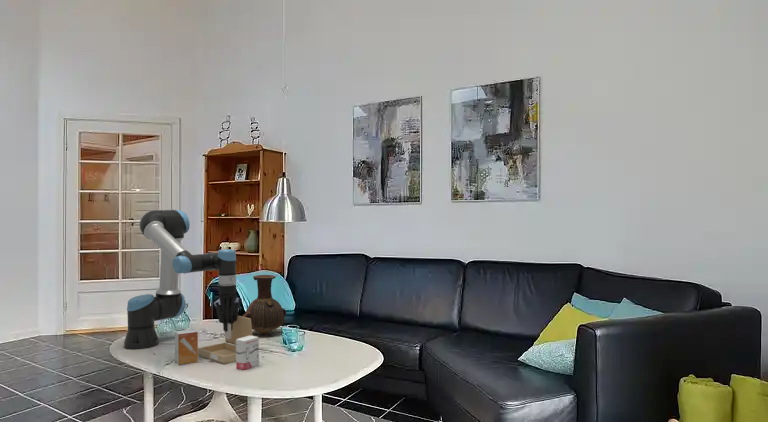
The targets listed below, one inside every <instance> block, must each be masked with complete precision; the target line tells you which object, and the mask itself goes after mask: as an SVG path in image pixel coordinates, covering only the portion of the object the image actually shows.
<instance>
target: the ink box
mask: <svg viewBox="0 0 768 422" xmlns="http://www.w3.org/2000/svg"><path fill="white" fill-rule="evenodd" d="M259 341H260V338H259V336H255V335H252V336H246V337H242V338H239V339H237V340H236V345H235V346H236V366H235V368H236V369H238V370H243V371H246V370H248V369H250V368H251V369H252V368H254V367H257V366H259V365H260V349H259V348H260V345H259V344H260V342H259Z"/></svg>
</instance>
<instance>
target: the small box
mask: <svg viewBox="0 0 768 422" xmlns="http://www.w3.org/2000/svg"><path fill="white" fill-rule="evenodd" d="M198 335H199V333H198V331H197V330H196V329H194V328H192V329H184V330H183V329H182V330H177V331H174V362H175V363H176V364H177V365H178V366H179V365H180V366H181V365H186V364H195V363H198V361H199V360H198V359H199V356H198V348H199V342H198V341H199V340H198Z"/></svg>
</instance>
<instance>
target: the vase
mask: <svg viewBox="0 0 768 422" xmlns="http://www.w3.org/2000/svg"><path fill="white" fill-rule="evenodd" d="M252 277H253V280H254V281H256V285H257V297H256V298H255V299H253V300H252V301H251V302H250V304H249V305H248V306H247V308H246V310H245V313H244V314H243V315H242V316H241V317H246V318H250V319H251V324H252V331H255V332H257V333H258V334H260V335H267V334H268V333H271V332H272V331H276V330H277V329H279V328H280V327H281V326H282V325H284V323H285V317H286V316H287V311H286V309H285V308H284V307H282V305H281V304H280V302H279V301H278V300H277V299H274V298H273V295H272V283H273V280H274V279H276V277H277V276H276V275H274V274H256V275H253V276H252Z"/></svg>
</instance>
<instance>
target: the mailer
mask: <svg viewBox="0 0 768 422" xmlns="http://www.w3.org/2000/svg"><path fill="white" fill-rule="evenodd" d="M198 357H201V358H204V359H206V358H207V359H206V360H209V359H210V361H213V362H215V363H218V364H220V365H221V364H222V365H229V364H232V363H235V362H236V345H233V344H230V343H227V342H221V343H217V344H212V345H208V346H204V347H203V346H202V347H198Z"/></svg>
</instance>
